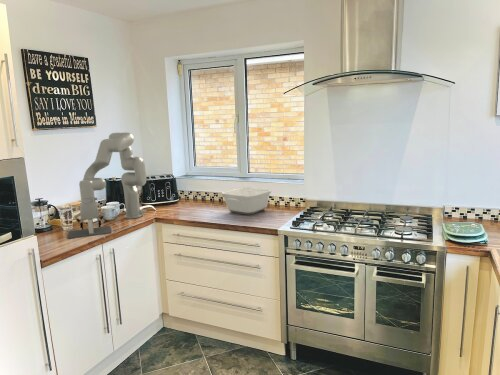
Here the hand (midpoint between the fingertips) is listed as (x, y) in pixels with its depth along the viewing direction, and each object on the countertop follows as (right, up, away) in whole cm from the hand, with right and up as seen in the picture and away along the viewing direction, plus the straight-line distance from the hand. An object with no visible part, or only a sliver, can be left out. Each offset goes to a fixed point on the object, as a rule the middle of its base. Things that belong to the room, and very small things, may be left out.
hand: (91, 227), depth 228 cm
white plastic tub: (+95, +7, +39) cm, 103 cm away
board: (0, -2, 0) cm, 2 cm away
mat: (-1, -3, 0) cm, 3 cm away
